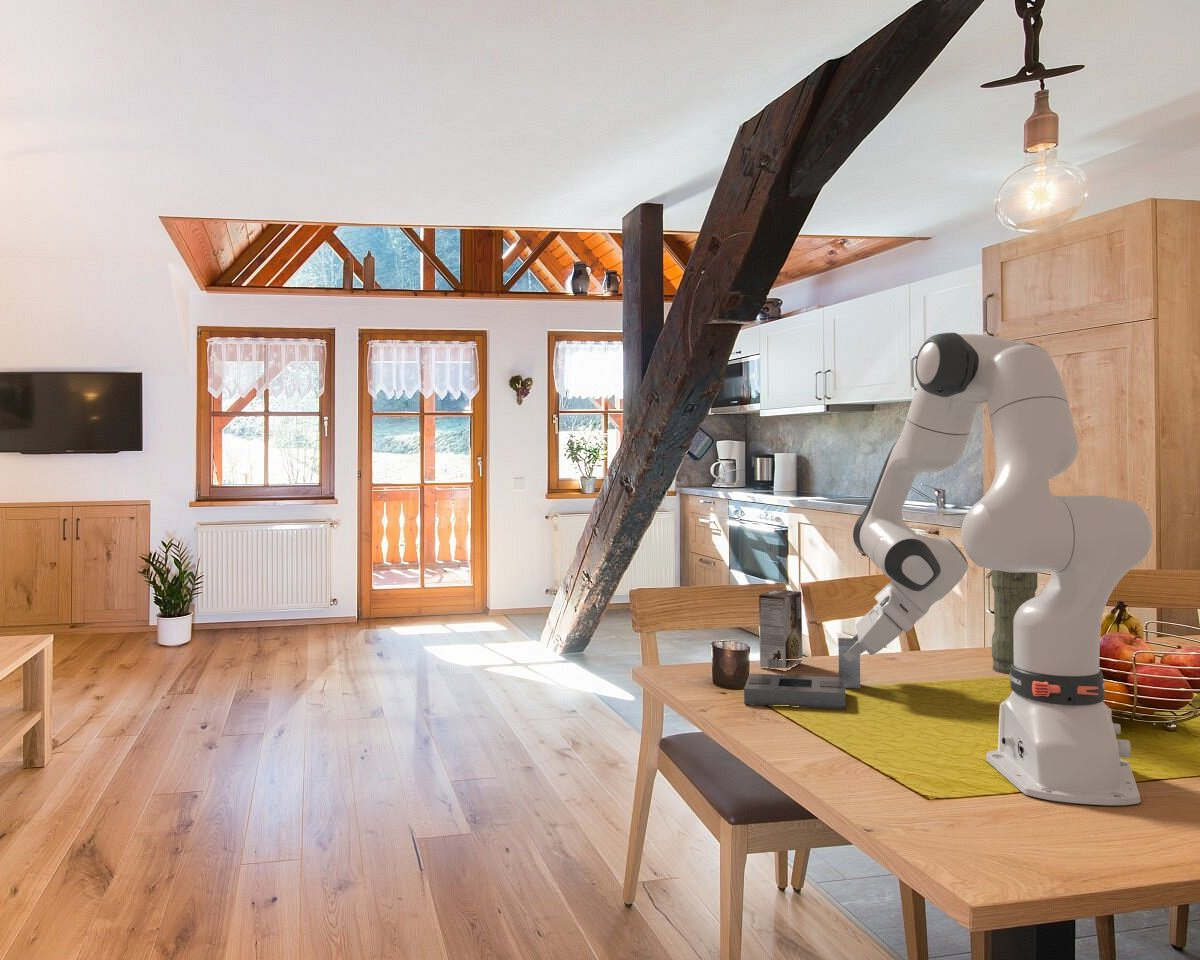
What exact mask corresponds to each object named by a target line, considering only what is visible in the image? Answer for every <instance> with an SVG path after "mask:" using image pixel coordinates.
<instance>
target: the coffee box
mask: <svg viewBox="0 0 1200 960" xmlns="http://www.w3.org/2000/svg"><path fill="white" fill-rule="evenodd" d="M758 597H759V598H758V604H759V605H758V607H759V609H758V610H759V666H760V667H768V668H789V667H792V666H793V665H795V664H798V663H801V661H804V658H803V620H802V619H803V618H802V617H803V616H802V615H803V613H802V611H803V610H802V609H803V608H802V607H803V606H802V605H803V604H802V591H796V590H795V591H793V590H788V589H774V590H770V591H767V592H764V593H761V594H759V595H758ZM799 658H803V660H786V659H799ZM779 659H783V660H779ZM760 667H759V668H760Z"/></svg>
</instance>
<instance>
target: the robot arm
mask: <svg viewBox="0 0 1200 960" xmlns="http://www.w3.org/2000/svg"><path fill="white" fill-rule="evenodd" d="M914 367H915V369H914V370H915V372H914V373H915V377H916V380H917V382H918V386H917V388H916V390H915V393H914V395H913V397H912V400H911V403H910V405H909V408H908V412H907V415H906V419H905V423H904V426H903V429H902V431H901V434H900V436H899V438H898V440H897V441H896V442H895V443H894V444H893V445H892V447H891V448H890V450H889V453H888V455H887V457H886V460H885V462H884V464H883V467H882V469H881V471H880V473H879V477H878V480H877V482H876V484H875V486H874V490H873V491H872V495H871V497H870V500H869V502H868V504H867V506H866V507H865V509H863V512H862V513H861V514H860V516H859V517H858V518H857V520H856V522H855V524H854V527H853V529H852V530H853V531H852V538H853V543H854V544H855V547H856V548H857V549H858V550H859V551H860V552H861V553H863V554H864V555H865V556H866V557H867V558H868V559H870V560H871V562H873V564H874V565H875V566H876V567H877V568H879V570H880V571H881V572H882V573H883V574H884V575H885V576H887V578H889V579H891V580H890V582H888V583H887V584H886V585H885V586H884V587H883V588H882V589H881V590H880V591H879V592H878V593H877V594H875V595H874V600H876V602H877V603H875V604H874V606H873V607H872V608H871V609H870V610H869V611H868V612H867V613H865V614H864V615H863V616H862V617H861V618H860V619H859V620H858V621H857V622H856V624H855V627H856V628H855V629H856V633H855V634H854V635H853V636H852V638H856V639H858V641H857V642H856V643H855V644H854V645H853V646H852V647H851V648H850V649H848V650H847V651H846V652H845V653H844V658H845V659H846V660H847V661H849V662H850V661H852V660H853V659H854V658H855V657H856V656H858V655H860V656H861V655H862V654H863V653H864V652H865V651H866V652H867V653H868V654H869V655H871V656H872V655H875V654H876V653H879V652H880V651H881V650H882V649H884V648H885V647H887V646H888V645H889V644H890V643H892V642H893V641H894V640H895V639H896V638H898V637H899V636H900V635H901V634H902V633H903V632H904V633H908V632H910V631H911V629H913V627H914V626H915V624H916V623H918V622H919V621H920V620H921V619H922V618H923V617H925V615H927V613H928V612H929V610H930V609H931V607H932V606H933V605H934V604H935V603H936V602H938V601H941V600H942V599H944V598H945V597H946V596H947V595H948V594H949V593H950V592H952V590H953V589H954V588H955V587H956V586H957V585H958V584H959V583H960V581H962V579H963V578H964V577H965V575H966V573H967V572H968V569H969V564H968V563H969V562H968V561H967V559H966V557H965V555H964V554H963V552H962V551H961V550H960V549H959V548H958V546H957V545H956V544H955V543H954V542H953V541H952V540H950V539H949V538H947V537H942V538H937V537H936V538H935V537H930V536H927V535H923V534H920V533H916V531H914V529H912V528H911V527H909V525H908V524H906V522H905V520H904V517H903V513H902V512H903V507H904V505H905V503H906V500H907V499H908V498H907V497H908V496H909V493H910V490H911V488H912V485H913V483H914V481H915V479H916V477H917V476H918V475H920V474H921V473H923V472H924V473H928V472H929V473H933V472H935V473H936V472H941V471H945V470H947V469H949V468H950V467H952V466H954V465H956V464H957V463H958V462H959V460H960V459H961V457H962V455H963V454H964V452H965V450H966V447H967V444H968V441H969V437H970V434H971V430H972V426H973V422H974V418H975V414H976V412H977V409H978V407H979V406H981V405H982V404H987V410H988V416H989V421H990V422H989V423H990V426H991V431H992V432H991V433H992V438H993V439H992V440H993V445H994V453H995V455H994V456H995V472H994V477H993V480H992V483H991V484H990V487H989V488H988V490H987V491H986V493H985V494H984V495H983V496H982V497H981V498H980V500H978V501H977V502H975V503H974V504H973V505H972V506H971V507H970V508H969V510H968V511H967V513H966V514H965V516H964V518H963V521H962V524H961V530H960V533H961V534H960V535H961V542H962V546H963V549H964V551H965V553H966V555H967V556H968V558H969V559H970V560H971V562H972V563H974V564H975V565H976V566H978V567H980V568H984V569H988V570H991V569H993V570H998V571H1004V572H1010V573H1028V572H1037V573H1051V574H1050V577H1049V578H1050V579H1049V581H1048V583H1047V584H1046V586H1045V588H1043V590H1042V591H1041V592H1040V593H1039V594H1037V595H1035V597H1034V598H1032V599H1030V600H1028V601H1026V602H1025V603H1023V604H1022V605H1021V606H1020V607H1019V608H1018V610H1017V612H1016V614H1015V616H1014V619H1013V620H1014V663H1013V664H1012V665H1011V672H1010V674H1009V679H1010V689H1011V690H1012V691H1011V693H1010V695H1008V696H1007V698H1006V699H1005V700H1004V701H1002V702H1001V703H1000V704H999V712H998V713H999V717H998V738H997V739H998V740H997V741H998V744H997V749H996V750H990V751H988V752H986V756H985V757H986V758H985V761H986V762H988V763H989V765H991V766H992V767H993V768H994V769H995V770H997V771H998V772H999V773H1000V774H1001V775H1002V776H1003V777H1005V779H1007V780H1008V781H1009V782H1010V783H1011V784H1012V785H1013V786H1015V788H1017V789H1018V791H1020V792H1022V793H1023V794H1024V795H1026V796H1029V797H1034V798H1038V799H1042V800H1048V801H1054V802H1060V803H1061V802H1062V803H1070V804H1081V805H1096V806H1130V805H1136V804H1137V805H1138V804H1141V795H1140V791H1139V789H1138V788H1139V787H1138V786H1137V782H1136V779H1135V777H1134V774H1133V770H1132V768H1131V765H1130V763H1129V761H1127V760H1125V759H1121V758H1128V759H1129V758H1131V757H1132V756H1131V754H1132V747H1131V740H1128V739H1120V738H1117V735H1121V731H1122V730H1121V729H1122V727H1121V724H1120V723H1114V722H1113V719H1112V709H1111V708H1110V707H1109V706H1108V705H1106V704H1105V700H1106V692H1105V689H1106V686H1105V685H1106V683H1105V680H1104V675H1103V671H1102V670H1101V669H1100V650H1101V649H1100V648H1101V647H1100V645H1101V634H1102V633H1101V632H1102V631H1101V630H1102V621H1103V617H1104V616H1103V615H1104V611H1105V609H1106V606H1107V603H1108V600H1109V599H1110V596H1111V595H1112V593H1113V591H1115V590H1114V589H1115V588H1116V587H1117V586H1118V584H1119V582H1120V581H1121V580H1122V579H1123V577H1125V575H1126V574H1127V573H1128V572H1130V571H1131V570H1132V569H1134V568H1135V567H1136V566H1137V565H1140V564H1141V563H1142V561H1143V560H1144V559H1145V558H1146V556H1148V554H1149V552H1150V550H1151V547H1152V543H1153V534H1154V533H1153V527H1152V524H1151V521H1150V518H1149V517H1148V515H1147V513H1146V511H1145V510H1144V509H1143V508H1142V507H1141V506H1140V505H1139V504H1138V503H1137V502H1135V501H1131V500H1128V499H1123V498H1117V497H1113V496H1112V497H1110V496H1107V495H1052V493H1051V491H1050V485H1049V480H1051V479H1053V478H1055V477H1057V476H1058V475H1061V474H1062V473H1063V472H1065V471H1066V470H1067V469H1069V468H1070V467H1071V466H1072V465H1073V464H1074V463H1075V460H1076V459H1077V456H1078V453H1079V443H1078V437H1077V434H1076V427H1075V424H1074V421H1073V416H1072V411H1071V408H1070V403H1069V399H1068V395H1067V393H1066V389H1065V387H1064V386H1065V385H1064V383H1063V380H1062V378H1061V376H1060V373H1059V371H1058V369H1057V367H1056V364H1055V362H1054V361H1053V358H1052V357H1051V355H1050V354H1049V352H1047V350H1045V348H1044V347H1043V348H1042V347H1041V346H1039V345H1036V344H1035V343H1031V342H1028V341H1016V340H1012V339H1008V338H1002V337H996V336H992V335H991V334H990V335H987V334H977V333H976V334H975V333H972V334H971V333H969V334H968V333H965V334H964V333H963V334H961V333H956V332H944V333H943V332H942V333H937V334H934V335H931V336H930V337H928V338H927V339H926V340H925V342H924V343H923V344H922V346H921V347H920V348H919V350H918V353H917V355H916V359H915V366H914Z"/></svg>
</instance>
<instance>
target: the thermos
mask: <svg viewBox="0 0 1200 960" xmlns="http://www.w3.org/2000/svg"><path fill="white" fill-rule="evenodd" d="M990 570H991V587H992V589H993V602H994V603H993V608H994V609H993V610H994V611H993V612H994V613H993V614H994V615H993V616H994V617H993V618H994V620H993V621H994V622H993V623H994V626H993V627H994V631H993V633H992V636H991V657H992V670H993V669H994V670H993V671H995V672H997V673H1002V674H1006V675H1007V674H1008V675H1010V672H1011V665H1012V664H1013V663H1014V620H1013V619H1014V616H1015V614H1016V612H1017V610H1018V608H1019V607H1020V606H1021V605H1022V604H1023V603H1025V602H1026V601H1028V600H1030V599H1032V598H1034V597H1036V591H1037V589H1038V572H1028V573H1010V572H1004V571H998V570H993V569H990Z"/></svg>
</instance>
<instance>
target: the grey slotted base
mask: <svg viewBox="0 0 1200 960" xmlns="http://www.w3.org/2000/svg"><path fill="white" fill-rule="evenodd" d="M743 704H754V705H753V706H759V705H789V706H799V707H808V708H807V709H817V708H822V710H836V709H837V711H838V710H839V711H841V710H843V711H846V709H847V708H846V706H847V705H846V688H845V679H844V677H839V676H838V677H837V676H819V675H818V676H817V675H797V674H796V675H793V674H792V675H791V674H771V673H749V675H748V677H747V680H746V682H745V685H744V687H743Z"/></svg>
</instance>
